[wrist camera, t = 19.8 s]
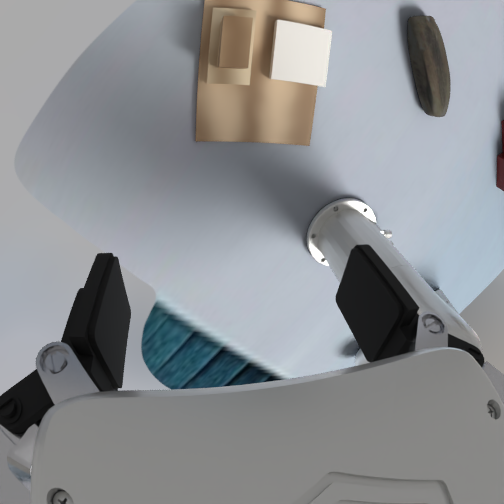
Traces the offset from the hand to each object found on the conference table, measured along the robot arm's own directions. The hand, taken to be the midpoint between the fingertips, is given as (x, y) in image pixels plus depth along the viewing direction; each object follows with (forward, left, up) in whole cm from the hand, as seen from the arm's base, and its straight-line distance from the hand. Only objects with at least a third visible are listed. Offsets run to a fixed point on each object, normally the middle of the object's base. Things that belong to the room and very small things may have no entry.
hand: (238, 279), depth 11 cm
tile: (-10, -7, -27) cm, 30 cm away
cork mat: (-6, -9, -28) cm, 30 cm away
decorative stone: (-32, -16, -29) cm, 46 cm away
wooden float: (-2, -11, -28) cm, 30 cm away
